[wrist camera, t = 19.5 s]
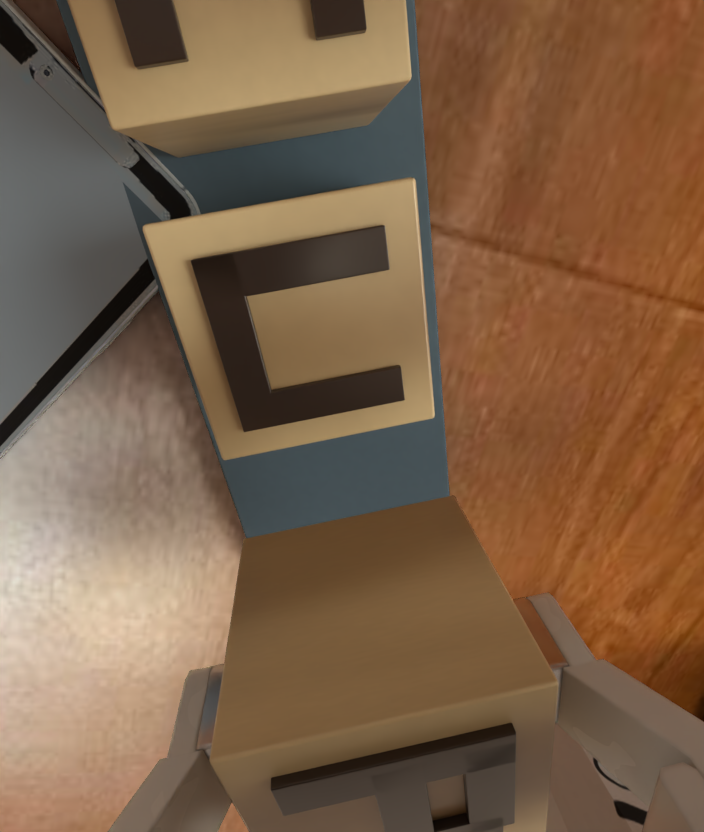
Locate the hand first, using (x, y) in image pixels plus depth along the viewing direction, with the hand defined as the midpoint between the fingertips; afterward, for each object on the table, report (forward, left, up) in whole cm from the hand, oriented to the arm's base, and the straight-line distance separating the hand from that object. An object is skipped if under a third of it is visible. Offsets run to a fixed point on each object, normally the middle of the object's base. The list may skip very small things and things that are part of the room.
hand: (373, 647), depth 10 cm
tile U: (-7, 0, -7) cm, 9 cm away
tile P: (0, 0, -2) cm, 2 cm away
